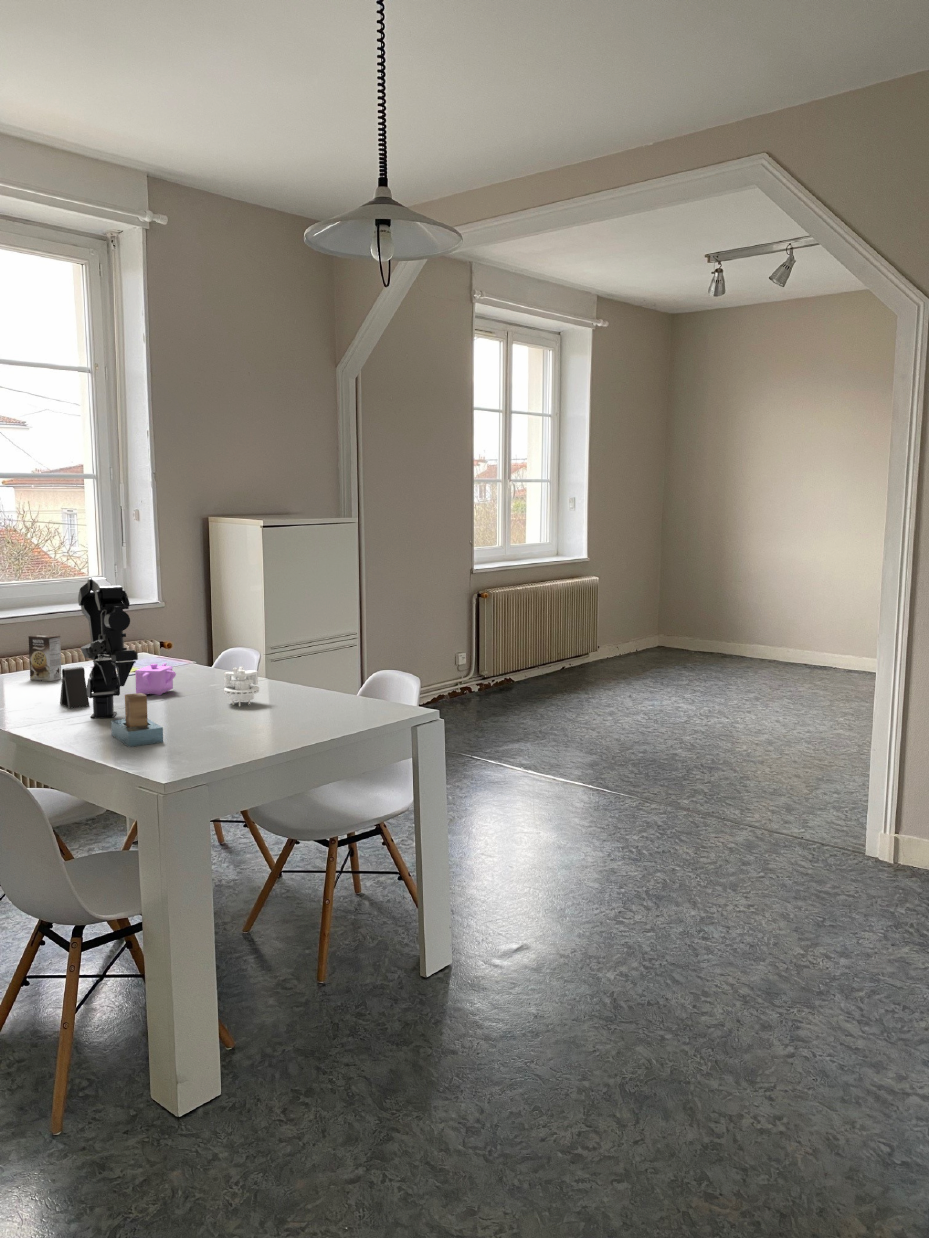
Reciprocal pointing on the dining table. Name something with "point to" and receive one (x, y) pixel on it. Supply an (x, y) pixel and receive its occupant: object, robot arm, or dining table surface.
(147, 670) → the teapot
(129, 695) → the wooden square peg
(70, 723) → the dining table surface
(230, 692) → the mechanical part
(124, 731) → the socket block
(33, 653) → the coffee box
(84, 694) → the phone stand
